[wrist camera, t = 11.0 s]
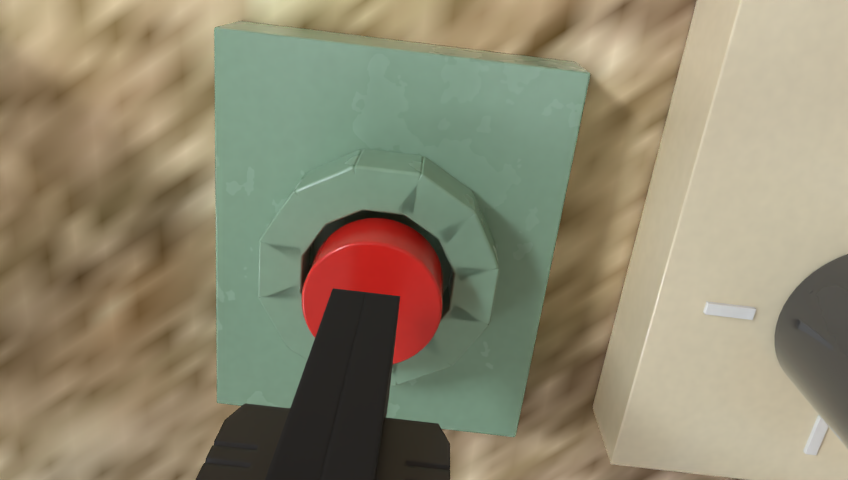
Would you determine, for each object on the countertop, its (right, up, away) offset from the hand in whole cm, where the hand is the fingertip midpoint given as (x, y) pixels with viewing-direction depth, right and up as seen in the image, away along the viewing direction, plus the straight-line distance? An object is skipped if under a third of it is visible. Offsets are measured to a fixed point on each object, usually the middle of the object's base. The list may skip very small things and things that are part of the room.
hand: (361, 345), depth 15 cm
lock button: (0, +1, +4) cm, 4 cm away
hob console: (+14, +3, +6) cm, 16 cm away
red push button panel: (0, +3, +7) cm, 7 cm away
